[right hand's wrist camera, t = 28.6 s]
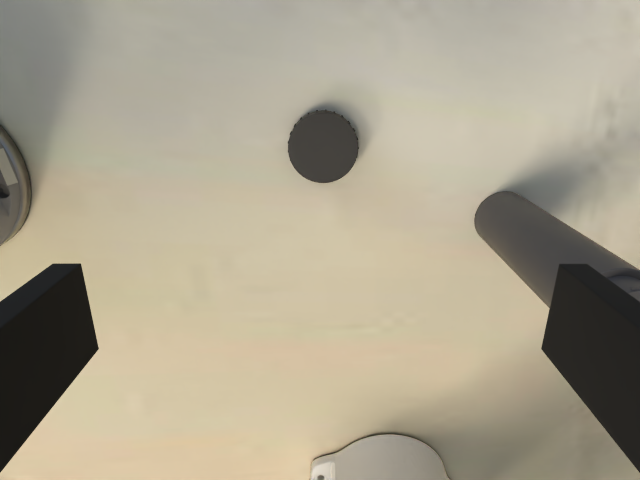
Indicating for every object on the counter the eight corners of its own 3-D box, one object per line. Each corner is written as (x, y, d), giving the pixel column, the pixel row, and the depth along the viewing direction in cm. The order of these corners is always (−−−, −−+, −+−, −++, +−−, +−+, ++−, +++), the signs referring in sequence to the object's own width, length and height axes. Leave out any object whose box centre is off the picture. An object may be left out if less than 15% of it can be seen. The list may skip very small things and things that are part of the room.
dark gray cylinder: (528, 240, 44) (674, 359, 26) (474, 246, 44) (581, 368, 26) (530, 188, 42) (690, 277, 24) (474, 194, 42) (590, 287, 24)
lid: (277, 127, 40) (274, 130, 38) (340, 97, 39) (341, 99, 37) (306, 188, 42) (305, 194, 40) (367, 161, 41) (369, 166, 39)
